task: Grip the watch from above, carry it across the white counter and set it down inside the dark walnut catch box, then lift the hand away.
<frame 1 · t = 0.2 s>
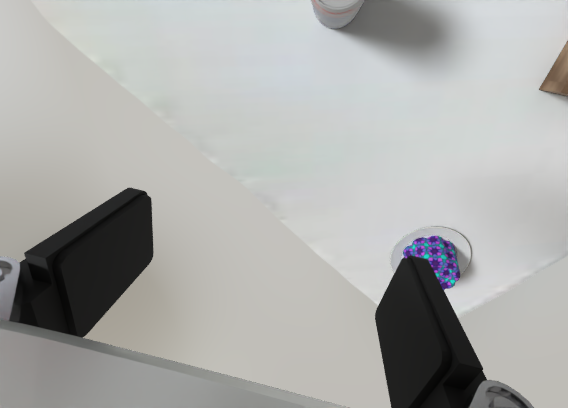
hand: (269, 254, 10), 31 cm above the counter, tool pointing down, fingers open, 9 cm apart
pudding: (427, 255, 46), on the counter
energy drink: (336, 1, 32), on the counter
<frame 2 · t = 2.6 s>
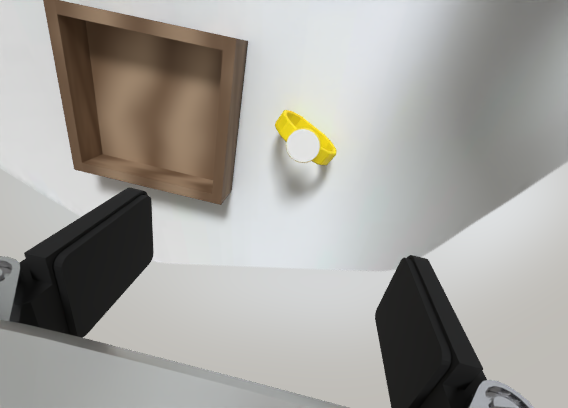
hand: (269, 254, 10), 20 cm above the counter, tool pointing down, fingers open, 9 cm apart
watch: (308, 130, 28), on the counter
catch box: (163, 108, 29), on the counter
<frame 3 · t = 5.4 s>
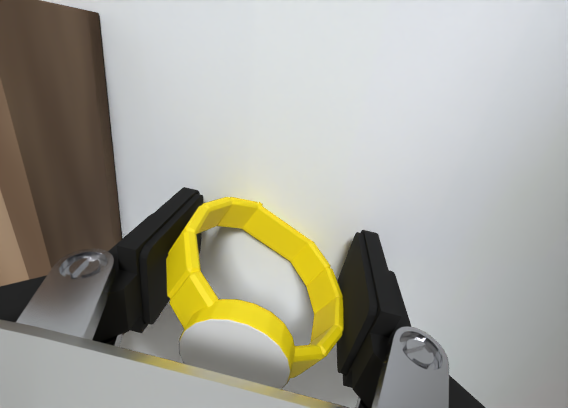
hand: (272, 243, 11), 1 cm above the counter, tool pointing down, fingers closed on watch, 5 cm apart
watch: (277, 229, 12), on the counter, touching gripper
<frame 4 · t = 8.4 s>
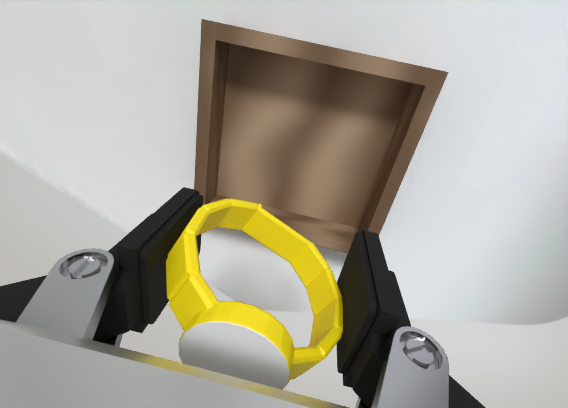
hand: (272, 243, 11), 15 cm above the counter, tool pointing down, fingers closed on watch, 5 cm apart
watch: (277, 230, 12), point 14 cm above the counter, touching gripper
catch box: (301, 144, 24), on the counter
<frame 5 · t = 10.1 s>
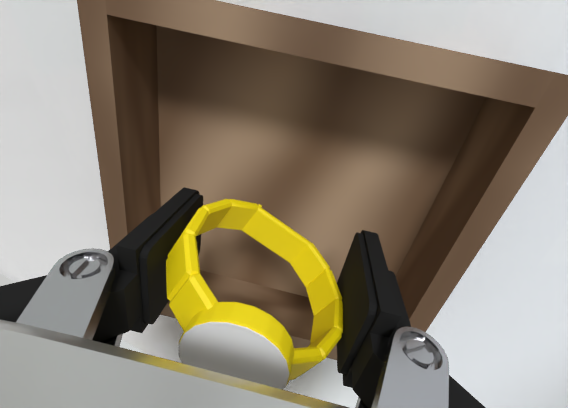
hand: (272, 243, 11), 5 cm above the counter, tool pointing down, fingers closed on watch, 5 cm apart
watch: (276, 231, 12), point 4 cm above the counter, touching gripper
catch box: (288, 193, 15), on the counter
when the fingers open (2 cm above the counter, at t = 11.5 s): watch stays where it is, resting on catch box.
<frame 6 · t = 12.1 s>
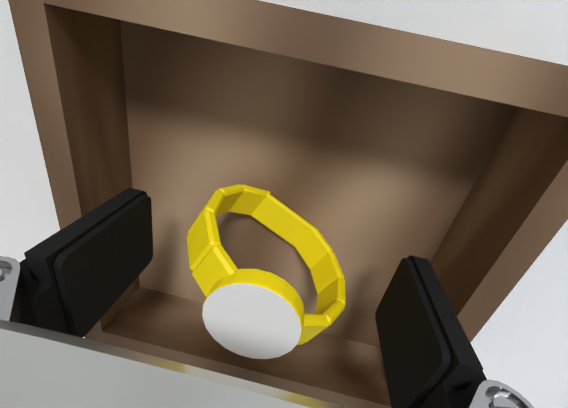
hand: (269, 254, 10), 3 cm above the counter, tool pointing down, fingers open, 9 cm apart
watch: (283, 217, 13), resting on catch box
catch box: (281, 214, 13), on the counter
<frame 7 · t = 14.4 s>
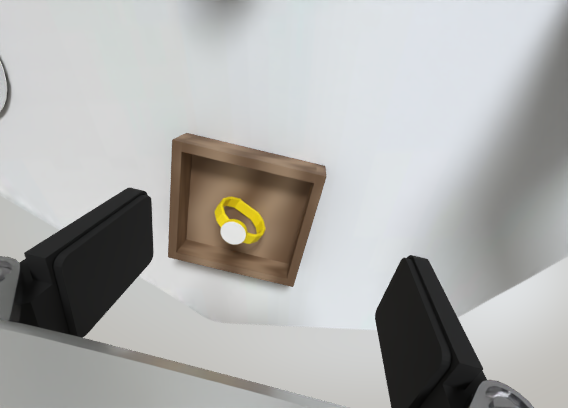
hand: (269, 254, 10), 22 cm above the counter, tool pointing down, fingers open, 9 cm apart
watch: (246, 208, 34), resting on catch box
catch box: (245, 207, 35), on the counter
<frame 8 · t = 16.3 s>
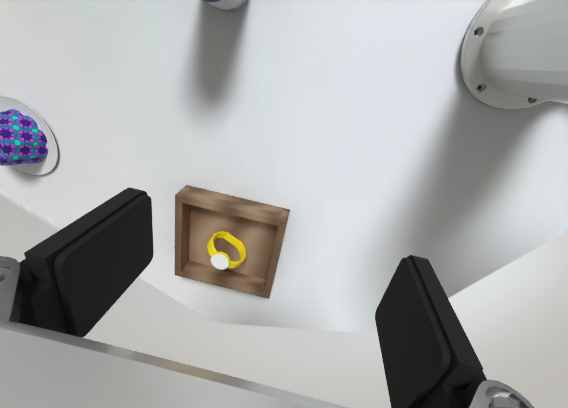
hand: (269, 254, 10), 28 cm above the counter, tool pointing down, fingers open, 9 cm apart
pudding: (25, 136, 43), on the counter
watch: (232, 238, 45), resting on catch box
catch box: (232, 237, 45), on the counter
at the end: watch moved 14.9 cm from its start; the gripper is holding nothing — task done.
